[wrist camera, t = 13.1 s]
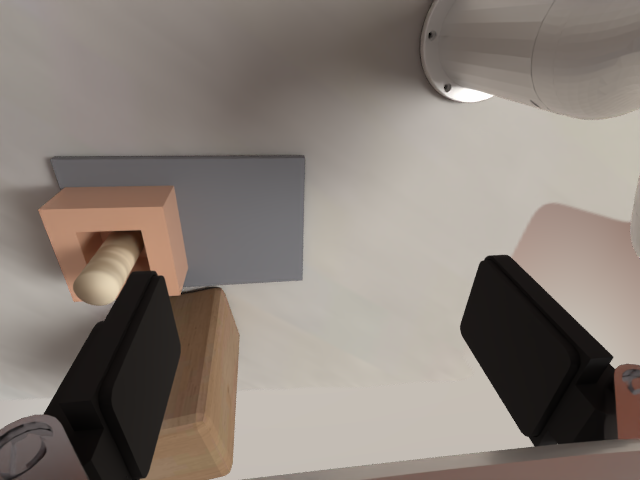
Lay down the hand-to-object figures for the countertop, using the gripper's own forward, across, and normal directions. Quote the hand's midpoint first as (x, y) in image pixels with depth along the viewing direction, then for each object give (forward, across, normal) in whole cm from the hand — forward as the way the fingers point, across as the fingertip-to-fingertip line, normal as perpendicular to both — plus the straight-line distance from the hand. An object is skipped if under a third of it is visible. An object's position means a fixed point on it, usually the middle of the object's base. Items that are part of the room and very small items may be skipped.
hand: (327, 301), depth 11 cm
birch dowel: (+29, +18, +14) cm, 37 cm away
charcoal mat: (+32, +11, +14) cm, 36 cm away
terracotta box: (+30, +18, +14) cm, 38 cm away
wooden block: (+32, +13, +29) cm, 45 cm away
